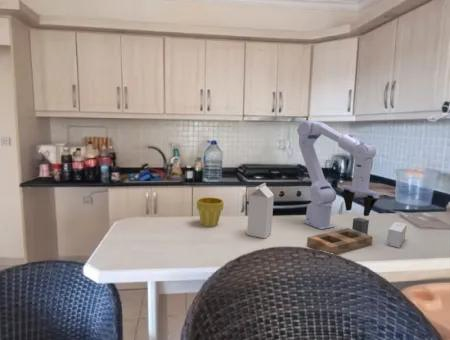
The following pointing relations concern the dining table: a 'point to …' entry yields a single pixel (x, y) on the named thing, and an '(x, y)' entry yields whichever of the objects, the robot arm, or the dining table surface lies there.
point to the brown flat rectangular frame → (339, 241)
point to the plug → (360, 224)
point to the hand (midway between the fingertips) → (357, 212)
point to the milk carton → (260, 212)
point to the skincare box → (396, 234)
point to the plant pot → (209, 210)
